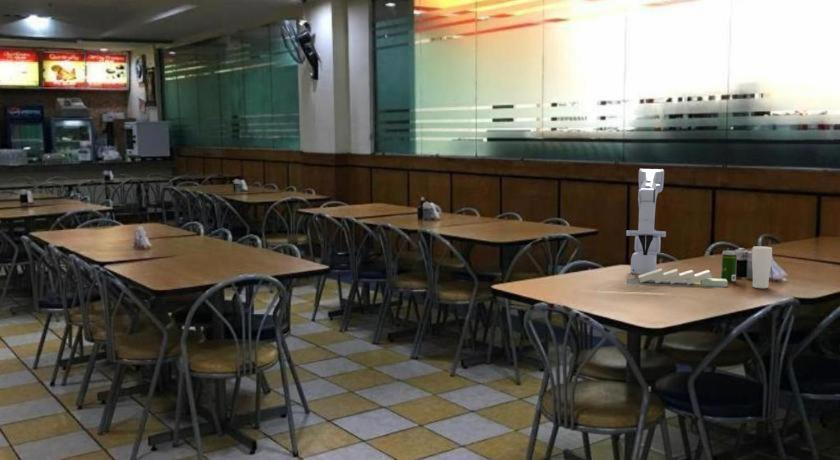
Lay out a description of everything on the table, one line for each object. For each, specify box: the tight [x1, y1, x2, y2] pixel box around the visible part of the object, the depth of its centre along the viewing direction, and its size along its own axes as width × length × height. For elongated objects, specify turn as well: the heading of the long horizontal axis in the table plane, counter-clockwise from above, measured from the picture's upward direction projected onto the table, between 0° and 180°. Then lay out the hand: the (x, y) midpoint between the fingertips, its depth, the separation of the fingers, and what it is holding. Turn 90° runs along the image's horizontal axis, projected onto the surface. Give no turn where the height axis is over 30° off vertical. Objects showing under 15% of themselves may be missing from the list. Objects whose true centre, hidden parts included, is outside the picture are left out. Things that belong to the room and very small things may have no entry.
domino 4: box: [685, 269, 713, 285], centre depth 305 cm, size 2×5×9 cm
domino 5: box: [699, 277, 728, 288], centre depth 303 cm, size 2×5×9 cm
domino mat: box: [626, 278, 723, 289], centre depth 307 cm, size 34×11×1 cm, turn 77°
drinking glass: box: [751, 245, 773, 289], centre depth 302 cm, size 7×7×15 cm
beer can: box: [720, 249, 738, 283], centre depth 312 cm, size 5×5×12 cm
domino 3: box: [668, 269, 695, 284], centre depth 306 cm, size 2×5×9 cm
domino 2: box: [653, 268, 680, 283], centre depth 307 cm, size 2×5×9 cm
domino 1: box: [637, 267, 664, 283], centre depth 308 cm, size 2×5×9 cm
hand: (645, 255), depth 313 cm, fingers closed
